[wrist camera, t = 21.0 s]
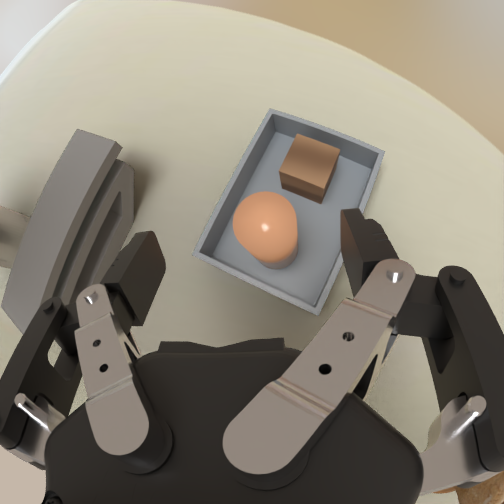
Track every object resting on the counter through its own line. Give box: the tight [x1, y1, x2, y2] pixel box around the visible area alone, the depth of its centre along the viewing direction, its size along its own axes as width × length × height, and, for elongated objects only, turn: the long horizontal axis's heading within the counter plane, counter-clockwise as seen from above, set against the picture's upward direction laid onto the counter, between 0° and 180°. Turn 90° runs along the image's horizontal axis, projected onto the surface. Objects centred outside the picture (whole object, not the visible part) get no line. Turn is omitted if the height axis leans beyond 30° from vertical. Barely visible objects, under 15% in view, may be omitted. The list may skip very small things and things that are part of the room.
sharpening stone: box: [1, 129, 134, 334], centre depth 33 cm, size 25×8×11 cm, turn 153°
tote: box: [192, 109, 385, 316], centre depth 33 cm, size 19×14×5 cm
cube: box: [279, 134, 340, 204], centre depth 32 cm, size 5×5×5 cm
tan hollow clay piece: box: [433, 471, 504, 504], centre depth 18 cm, size 15×12×15 cm
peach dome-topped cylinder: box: [233, 191, 298, 270], centre depth 29 cm, size 5×5×11 cm
